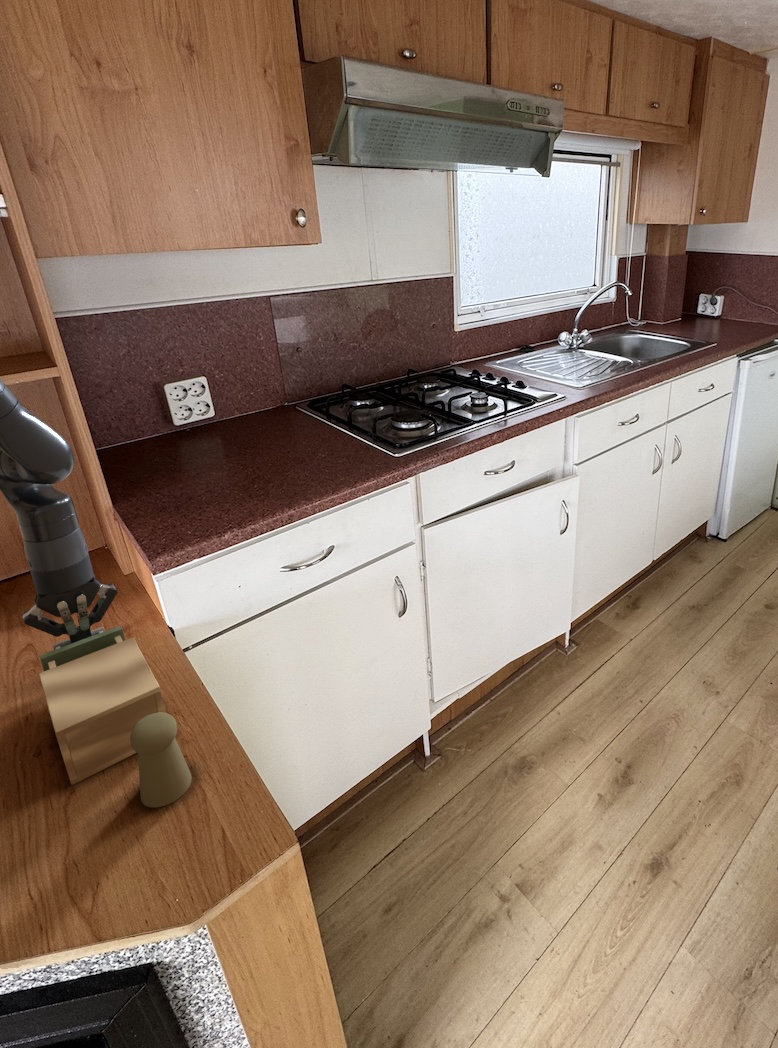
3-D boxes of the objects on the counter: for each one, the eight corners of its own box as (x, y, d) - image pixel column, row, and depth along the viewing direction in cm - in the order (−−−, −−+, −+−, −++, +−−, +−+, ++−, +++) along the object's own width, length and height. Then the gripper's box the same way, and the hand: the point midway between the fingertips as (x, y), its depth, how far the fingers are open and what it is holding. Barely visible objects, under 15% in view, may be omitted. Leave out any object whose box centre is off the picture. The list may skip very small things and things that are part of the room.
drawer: (45, 674, 95) (34, 637, 93) (121, 644, 102) (112, 610, 100) (65, 745, 82) (53, 704, 80) (151, 705, 89) (142, 667, 87)
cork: (198, 786, 77) (185, 723, 74) (148, 816, 73) (131, 750, 70) (182, 759, 81) (169, 697, 78) (134, 786, 77) (117, 722, 74)
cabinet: (53, 721, 87) (38, 673, 84) (144, 682, 95) (133, 636, 92) (71, 785, 77) (55, 733, 74) (170, 735, 85) (159, 686, 82)
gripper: (103, 534, 97) (124, 620, 103) (2, 562, 88) (30, 654, 94) (113, 551, 92) (134, 641, 98) (6, 582, 83) (37, 679, 89)
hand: (83, 647), depth 96 cm, fingers closed
